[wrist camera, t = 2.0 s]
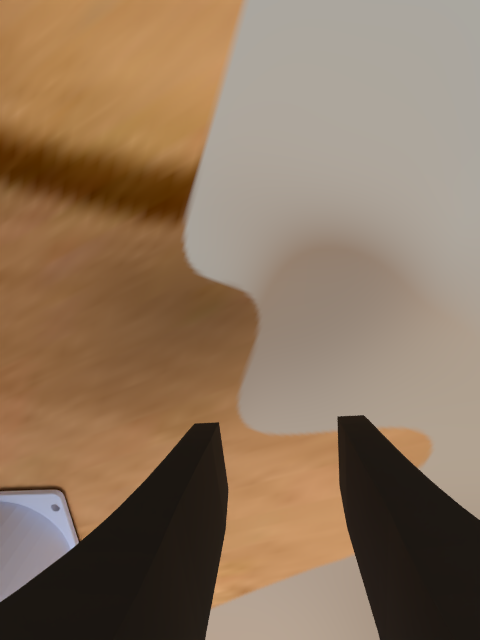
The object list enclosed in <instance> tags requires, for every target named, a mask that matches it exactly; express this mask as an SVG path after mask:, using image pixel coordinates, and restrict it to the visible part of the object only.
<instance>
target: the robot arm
mask: <svg viewBox="0 0 480 640" xmlns="http://www.w3.org/2000/svg"><path fill="white" fill-rule="evenodd" d="M338 450H339V483H340V491H341V496H342V502H343V507H344V513H345V518H346V523H347V528H348V532H349V535H350V539H351V542H352V546H353V549H354V552H355V556H356V559H357V562H358V566H359V569H360V573H361V576H362V579H363V583H364V586H365V589H366V593H367V596H368V600H369V603H370V606H371V610H372V613H373V616H374V620H375V623H376V626H377V630H378V633H379V637H380V640H480V520H479V519H477V518H476V517H475V516H473V515H472V514H471V513H469V512H468V511H467V510H466V509H464V508H463V507H462V506H460V505H459V504H458V503H457V502H455V501H454V500H453V499H452V498H451V497H450V496H448V495H447V494H446V493H445V492H443V491H442V490H441V489H440V488H439V487H438V486H437V485H435V484H434V483H433V482H432V481H431V480H430V479H429V478H427V477H426V476H425V475H424V474H423V473H422V472H421V471H420V470H419V469H418V468H417V467H415V466H414V465H413V464H412V463H411V462H410V461H409V460H408V459H407V458H406V457H405V456H404V455H403V454H402V453H401V452H400V451H399V450H398V449H397V448H396V447H395V446H394V445H393V444H392V443H391V442H390V441H389V440H388V439H387V438H386V437H385V436H384V435H383V434H382V433H381V432H380V431H379V430H378V429H377V428H376V427H375V426H374V425H373V424H372V423H371V422H370V421H369V420H368V419H367V418H366V417H365V416H364V415H360V416H341V417H338ZM227 503H228V483H227V476H226V469H225V462H224V455H223V448H222V441H221V434H220V427H219V422H218V423H198V424H194V425H193V426H192V427H191V428H190V430H189V431H188V432H187V433H186V434H185V435H184V437H183V438H182V439H181V440H180V441H179V442H178V444H177V445H176V446H175V447H174V448H173V449H172V451H171V452H170V453H169V454H168V455H167V456H166V458H165V459H164V460H163V461H162V462H161V463H160V464H159V466H158V467H157V468H156V469H155V470H154V471H153V472H152V473H151V474H150V476H149V477H148V478H147V479H146V480H145V481H144V482H143V483H142V484H141V485H140V486H139V487H138V488H137V489H136V490H135V491H134V492H133V493H132V494H131V495H130V496H129V497H128V498H127V500H126V501H125V502H124V503H123V504H122V505H121V506H120V507H119V508H118V509H117V510H115V511H114V512H113V513H112V514H111V515H110V516H109V517H108V518H107V519H106V520H105V521H104V522H102V523H101V524H100V525H99V526H98V527H97V528H96V529H95V530H93V531H92V532H91V533H90V534H89V535H88V536H86V537H85V538H84V539H83V540H82V541H80V542H79V541H78V538H77V535H76V532H75V529H74V526H73V522H72V519H71V516H70V513H69V510H68V506H67V503H66V500H65V497H64V495H63V493H62V492H61V491H59V490H24V491H0V640H205V637H206V631H207V625H208V620H209V615H210V610H211V604H212V599H213V594H214V588H215V583H216V578H217V573H218V567H219V562H220V557H221V551H222V546H223V540H224V535H225V529H226V516H227ZM57 505H58V506H57Z"/></svg>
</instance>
